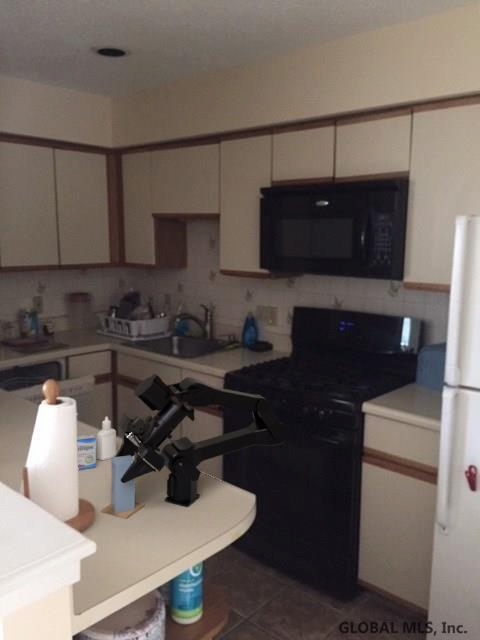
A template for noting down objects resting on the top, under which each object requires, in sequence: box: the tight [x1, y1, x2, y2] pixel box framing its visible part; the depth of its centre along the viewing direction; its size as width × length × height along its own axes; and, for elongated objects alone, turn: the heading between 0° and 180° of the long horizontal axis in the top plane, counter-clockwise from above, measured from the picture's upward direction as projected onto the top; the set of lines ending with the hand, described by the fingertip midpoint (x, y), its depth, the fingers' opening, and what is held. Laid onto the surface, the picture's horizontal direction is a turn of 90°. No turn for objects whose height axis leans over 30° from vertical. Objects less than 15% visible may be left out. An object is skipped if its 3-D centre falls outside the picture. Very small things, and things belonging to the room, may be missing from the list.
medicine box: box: [76, 432, 97, 471], centre depth 154 cm, size 8×4×9 cm, turn 117°
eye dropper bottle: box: [96, 416, 117, 461], centre depth 161 cm, size 4×6×12 cm
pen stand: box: [100, 501, 145, 520], centre depth 132 cm, size 7×7×5 cm
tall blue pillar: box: [110, 455, 136, 513], centre depth 131 cm, size 4×4×12 cm
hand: (117, 473), depth 130 cm, fingers open, 9 cm apart
